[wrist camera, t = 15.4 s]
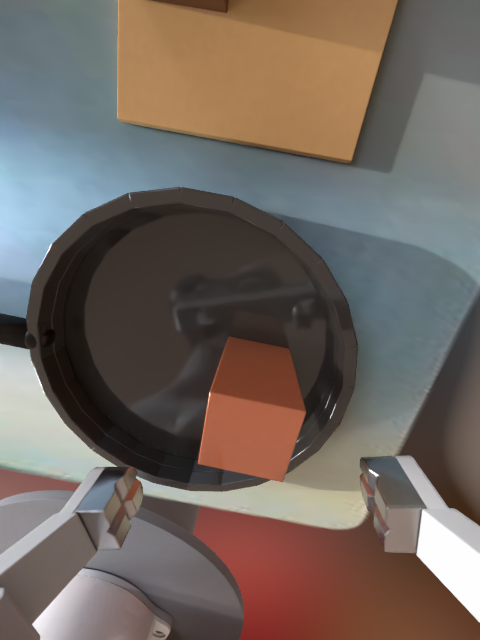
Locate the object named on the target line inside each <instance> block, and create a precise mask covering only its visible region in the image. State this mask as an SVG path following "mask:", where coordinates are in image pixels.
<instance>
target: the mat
mask: <svg viewBox="0 0 480 640" xmlns="http://www.w3.org/2000/svg"><path fill="white" fill-rule="evenodd" d="M397 3H398V0H229V2H228V11H227V13H223V12H217V11H211V10H206V9H200V8H194V7H188V6H182V5H176V4H170V3H165V2H159V1H153V0H118V97H117V118H118V119H119V120H120V121H122V122H123V123H129V124H134V125H140V126H145V127H150V128H156V129H161V130H167V131H172V132H178V133H183V134H189V135H194V136H200V137H205V138H211V139H216V140H221V141H227V142H232V143H238V144H243V145H249V146H254V147H260V148H265V149H271V150H276V151H281V152H287V153H292V154H298V155H303V156H309V157H314V158H320V159H325V160H331V161H336V162H341V163H347V164H348V163H350V162H351V161H352V159H353V155H354V152H355V148H356V145H357V141H358V138H359V134H360V131H361V127H362V124H363V120H364V117H365V113H366V110H367V107H368V103H369V100H370V96H371V93H372V89H373V86H374V82H375V79H376V75H377V72H378V68H379V65H380V62H381V58H382V55H383V51H384V48H385V44H386V41H387V37H388V34H389V30H390V27H391V23H392V20H393V17H394V13H395V10H396V6H397Z"/></svg>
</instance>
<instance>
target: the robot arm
mask: <svg viewBox="0 0 480 640" xmlns="http://www.w3.org/2000/svg"><path fill="white" fill-rule="evenodd" d="M360 467H361V470H362V472H363V473H362V474H361V475H360V486H361V491H362V495H363V499H364V502H365V504H366V507H367V509H368V511H370V512H371V513H372V514H373V515H374V527H375V529H376V532H377V534H378V537H379V539H380V542H381V544H382V547H383V550H384V552H400V553H417V556H418V557H419V558H420V559H421V560H422V561H423V563H424V564H425V565H426V566H427V567H428V568H429V569H430V570H431V571H432V572H433V573H434V574H435V575H436V576H437V578H438V579H439V580H440V581H441V582H442V583H443V584H444V585H445V586H446V587H447V588H448V589H449V590H450V591H451V592H452V594H454V596H455V597H456V598H457V599H458V600H459V601H460V602H461V603H462V604H463V605H464V606H465V607H466V608H467V610H468V611H469V612H470V613H471V614H472V615H473V616H474V617H475V618H476V619H477V620H478V621H479V622H480V526H479V525H478V524H476V523H475V522H473V521H472V520H471V519H469V518H468V517H466V516H465V515H463V514H462V513H461V512H459V511H458V510H456V509H453V508H448V506H447V505H446V503H445V502H444V501H443V499H442V498H441V496H440V495H439V493H438V492H437V491H436V489H435V488H434V486H433V485H432V483H431V482H430V481H429V479H428V478H427V476H426V475H425V474H424V472H423V471H422V470H421V468H420V467H419V465H418V464H417V462H416V461H415V460H414V458H413V457H411V456H380V457H361V459H360ZM137 474H138V473H137V471H136V469H135V467H96V468H94V469H93V470H91V471H90V473H89V474H88V475H87V477H86V478H85V479H84V481H83V482H82V483H81V485H80V486H79V487H78V489H77V490H76V491H75V493H74V494H73V495H72V497H71V498H70V499H69V501H68V502H67V503H66V505H65V506H64V508H63V509H62V510H61V512H60V513H55V514H54V515H52V516H51V517H50V518H49V519H47V520H46V521H45V522H43V523H42V524H41V525H39V526H38V527H37V528H35V529H34V530H33V531H31V532H30V533H29V534H27V535H26V536H25V537H23V538H22V539H21V540H19V541H18V542H17V543H15V544H14V545H13V546H11V547H10V548H9V549H7V550H6V551H5V552H3V553H2V554H1V555H0V640H166V638H167V636H168V635H169V633H170V631H171V627H172V624H173V621H174V619H173V617H172V616H171V615H170V614H168V613H167V612H165V611H163V610H162V609H160V608H158V607H157V606H156V605H154V604H153V603H152V602H151V600H150V599H149V598H148V597H147V596H146V595H145V594H144V593H143V592H142V591H140V590H139V589H138V588H136V587H135V586H134V585H132V584H130V583H129V582H127V581H125V580H123V579H121V578H119V577H116V576H114V575H111V574H108V573H105V572H101V571H97V570H92V569H85V568H83V567H84V566H85V565H86V564H87V562H88V561H89V560H90V559H91V558H92V557H93V556H94V555H95V553H96V552H97V551H96V550H120V549H121V547H122V545H123V543H124V541H125V538H126V536H127V534H128V532H129V530H130V527H131V523H130V519H131V518H132V517H133V516H134V515H135V514H136V513H137V512H138V510H139V507H140V505H141V502H142V497H143V487H142V484H141V482H140V481H139V480H137V479H136V476H137Z"/></svg>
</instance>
